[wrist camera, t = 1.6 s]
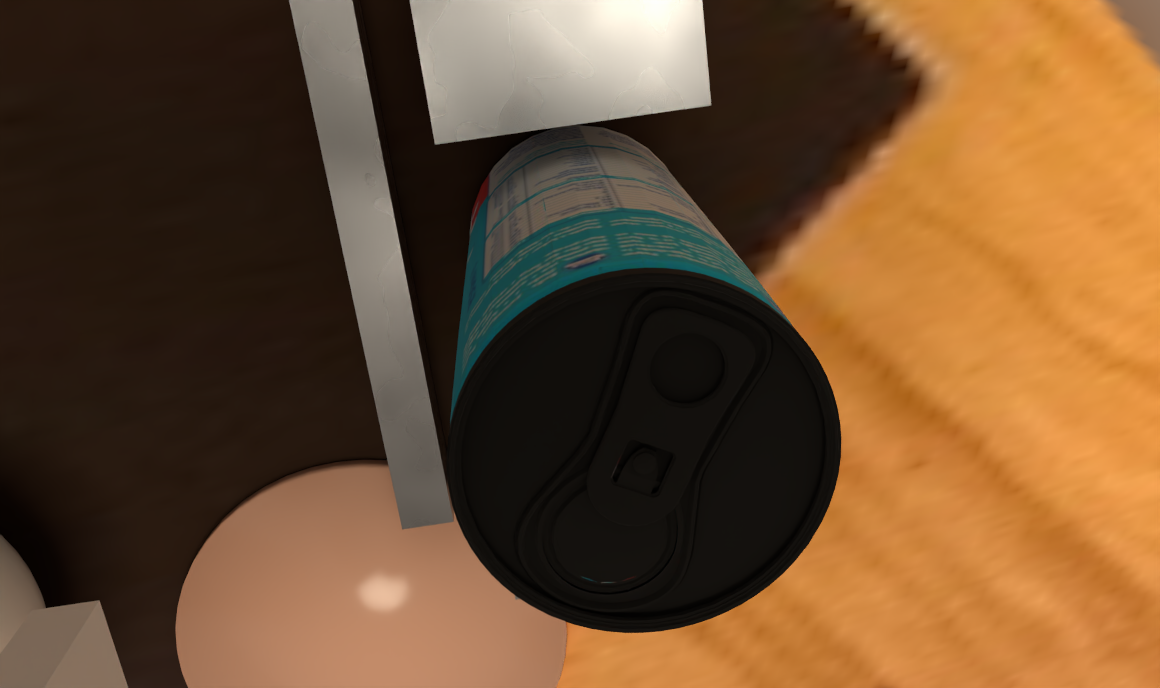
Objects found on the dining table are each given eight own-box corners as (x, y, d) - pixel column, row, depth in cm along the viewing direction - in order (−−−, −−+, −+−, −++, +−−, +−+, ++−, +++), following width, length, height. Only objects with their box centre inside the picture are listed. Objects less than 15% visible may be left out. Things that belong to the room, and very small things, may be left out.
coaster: (135, 492, 32) (128, 501, 31) (537, 432, 32) (537, 440, 31) (233, 808, 36) (228, 822, 35) (587, 753, 36) (589, 765, 36)
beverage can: (431, 261, 30) (371, 529, 16) (543, 78, 29) (586, 194, 14) (607, 363, 31) (696, 692, 17) (723, 193, 30) (922, 402, 16)
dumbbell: (293, -33, 27) (239, -31, 22) (654, -83, 27) (694, -94, 22) (406, 505, 32) (387, 619, 27) (707, 459, 33) (751, 564, 27)
